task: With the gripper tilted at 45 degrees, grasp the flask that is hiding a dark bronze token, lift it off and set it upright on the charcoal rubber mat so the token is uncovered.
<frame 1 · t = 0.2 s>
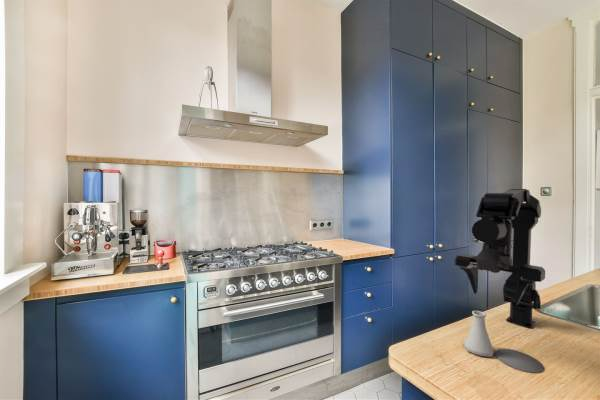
hand: (495, 298, 72), 15 cm above the countertop, tool pointing down, fingers open, 9 cm apart
flask: (477, 350, 73), on the countertop, touching bronze token
rubber mat: (518, 360, 69), on the countertop
bronze token: (477, 350, 73), on the countertop
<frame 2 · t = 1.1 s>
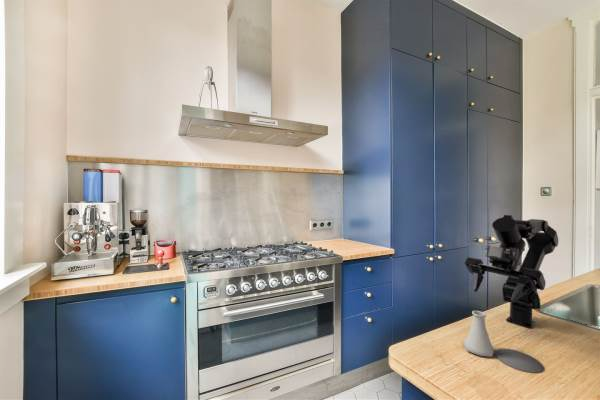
hand: (492, 296, 77), 13 cm above the countertop, tool tilted 45°, fingers open, 9 cm apart
nothing on the countertop moved.
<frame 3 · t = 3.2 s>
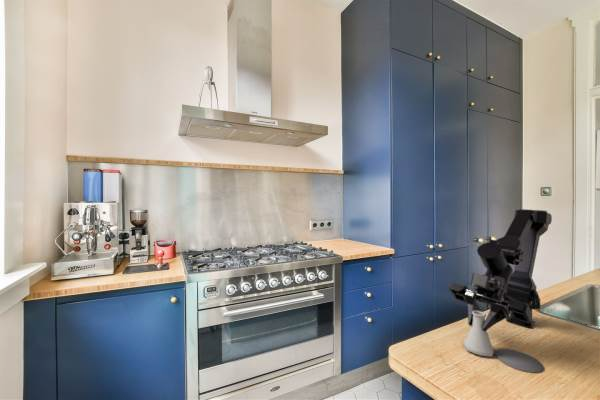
hand: (476, 327, 72), 7 cm above the countertop, tool tilted 45°, fingers closed on flask, 3 cm apart
flask: (477, 350, 73), on the countertop, touching bronze token, gripper
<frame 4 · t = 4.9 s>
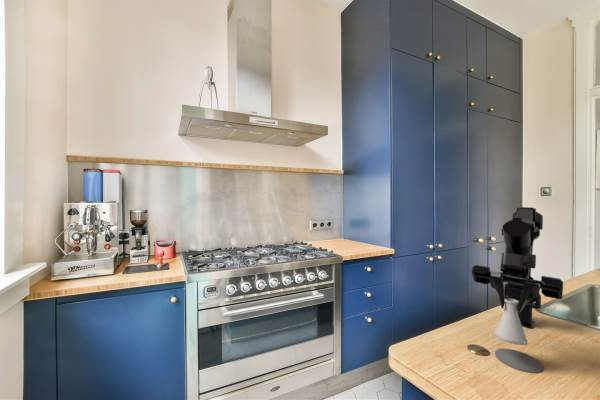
hand: (510, 309, 68), 13 cm above the countertop, tool tilted 45°, fingers closed on flask, 3 cm apart
flask: (509, 339, 69), point 5 cm above the countertop, touching gripper
when the fingers open (8 cm above the countertop, at t = 6.6 s): flask stays where it is, resting on rubber mat.
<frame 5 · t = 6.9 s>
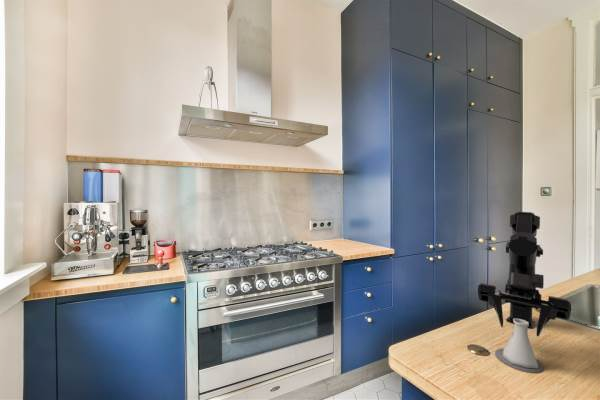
hand: (519, 330, 67), 8 cm above the countertop, tool tilted 45°, fingers open, 7 cm apart
flask: (519, 361, 68), resting on rubber mat
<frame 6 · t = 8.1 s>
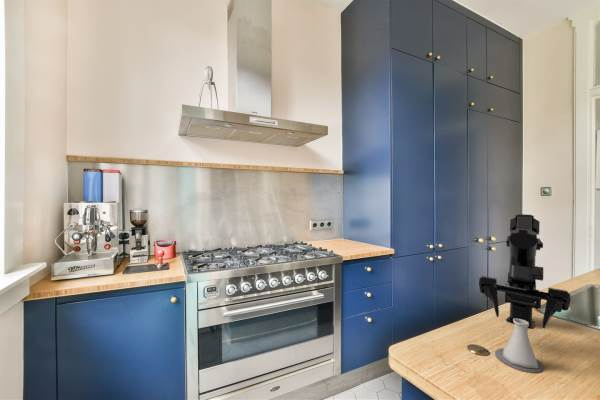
hand: (519, 321, 69), 10 cm above the countertop, tool tilted 45°, fingers open, 9 cm apart
nothing on the countertop moved.
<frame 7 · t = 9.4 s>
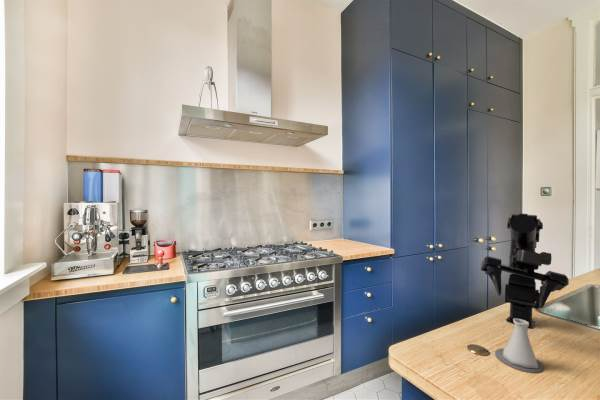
hand: (519, 301, 74), 13 cm above the countertop, tool tilted 35°, fingers open, 9 cm apart
nothing on the countertop moved.
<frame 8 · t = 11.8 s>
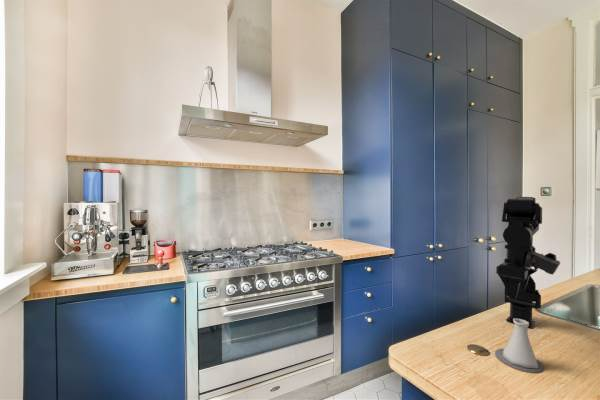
hand: (517, 295, 78), 13 cm above the countertop, tool pointing down, fingers open, 9 cm apart
nothing on the countertop moved.
at the end: flask 0.4 cm from the rubber mat (horizontally); flask tilted 0°; the gripper is holding nothing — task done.
